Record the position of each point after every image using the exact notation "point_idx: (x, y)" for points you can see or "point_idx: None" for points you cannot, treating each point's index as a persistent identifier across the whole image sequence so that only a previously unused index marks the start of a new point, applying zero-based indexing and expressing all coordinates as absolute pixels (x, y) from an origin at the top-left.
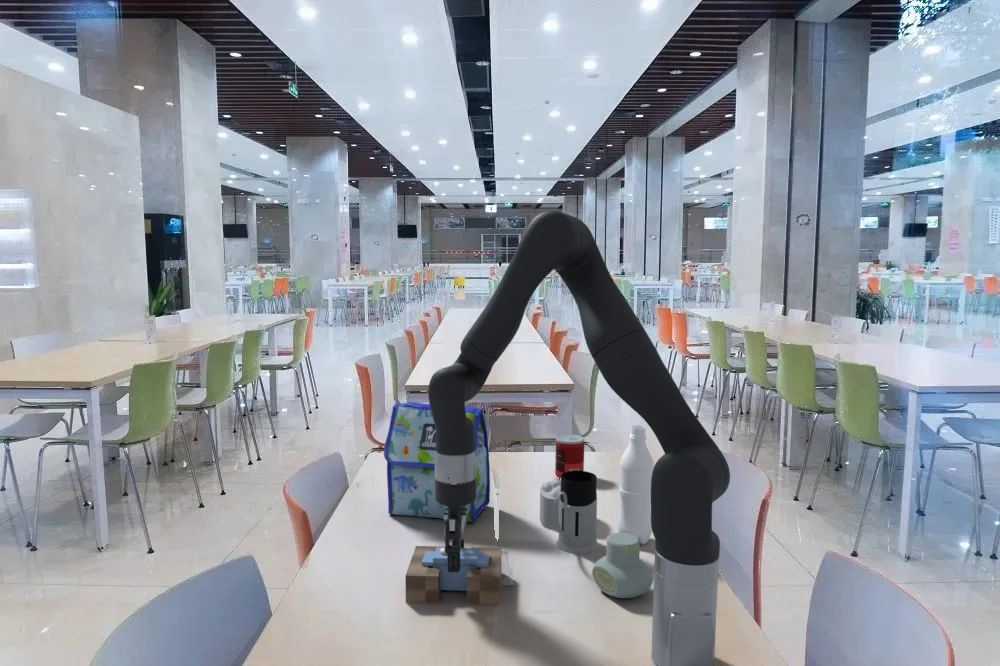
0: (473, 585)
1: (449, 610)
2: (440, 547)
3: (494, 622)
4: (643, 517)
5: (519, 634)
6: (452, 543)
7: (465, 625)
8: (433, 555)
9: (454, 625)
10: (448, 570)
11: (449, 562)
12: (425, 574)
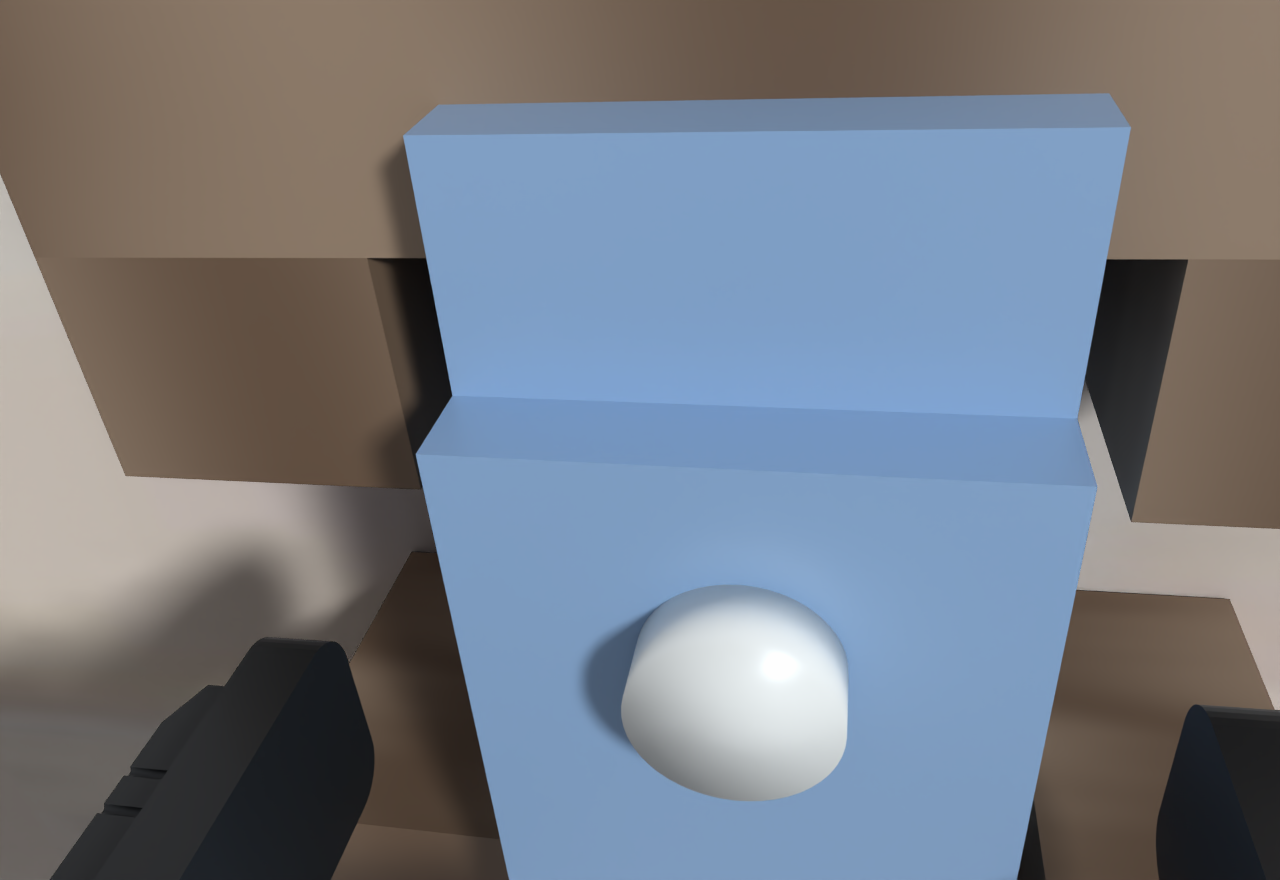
0: None
1: None
2: (1074, 584)
3: None
4: None
5: None
6: (1252, 829)
7: (49, 543)
8: (817, 377)
9: (3, 456)
10: (259, 650)
11: (122, 806)
12: (83, 252)
